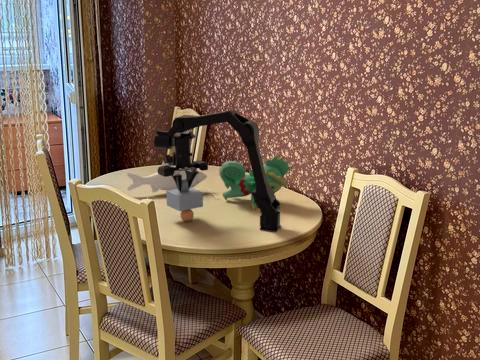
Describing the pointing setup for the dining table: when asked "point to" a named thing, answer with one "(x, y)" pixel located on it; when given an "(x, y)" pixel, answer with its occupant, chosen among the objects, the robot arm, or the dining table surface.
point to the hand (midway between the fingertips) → (183, 190)
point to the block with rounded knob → (184, 197)
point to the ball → (187, 215)
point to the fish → (162, 180)
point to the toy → (252, 178)
